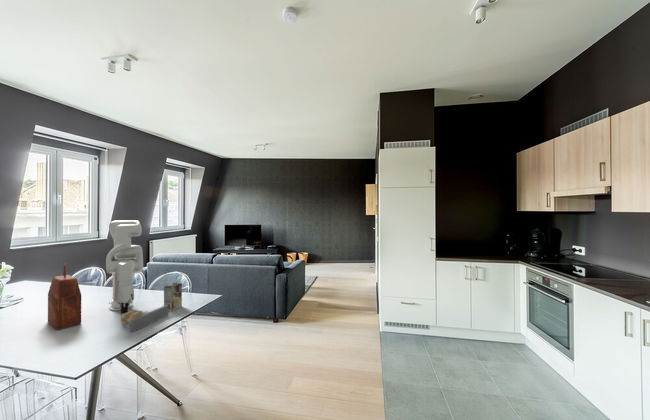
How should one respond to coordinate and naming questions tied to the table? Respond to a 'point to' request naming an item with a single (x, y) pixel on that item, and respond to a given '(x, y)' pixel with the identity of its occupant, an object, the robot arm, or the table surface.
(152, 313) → the gray flat board
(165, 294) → the coffee box
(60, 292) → the wooden peaked block
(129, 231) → the robot arm
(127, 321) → the oak block
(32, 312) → the table surface
